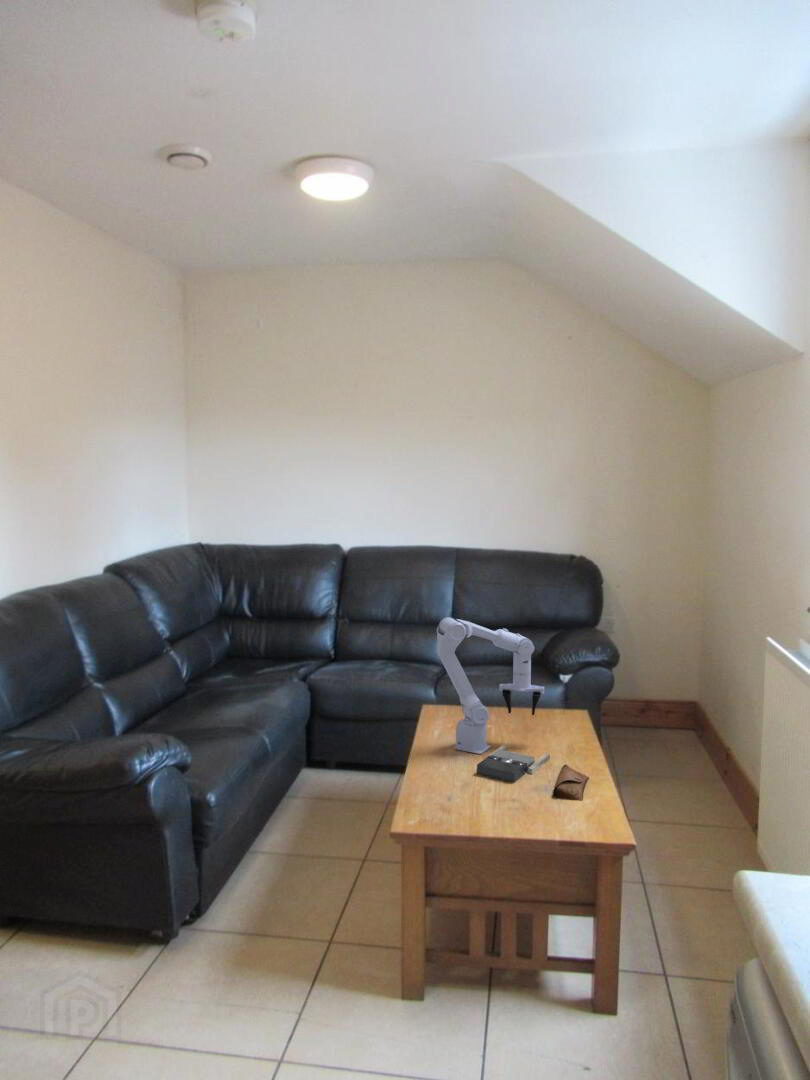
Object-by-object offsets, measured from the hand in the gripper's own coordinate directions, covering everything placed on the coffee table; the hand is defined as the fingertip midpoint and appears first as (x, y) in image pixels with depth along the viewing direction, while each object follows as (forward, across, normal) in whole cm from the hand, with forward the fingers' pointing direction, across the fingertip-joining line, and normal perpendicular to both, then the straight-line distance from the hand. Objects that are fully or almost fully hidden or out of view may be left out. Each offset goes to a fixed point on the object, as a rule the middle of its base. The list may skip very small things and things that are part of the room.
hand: (521, 713), depth 250 cm
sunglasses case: (+11, +18, -31) cm, 37 cm away
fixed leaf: (+10, -3, -26) cm, 28 cm away
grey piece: (+10, -1, -21) cm, 23 cm away
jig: (+10, 0, -15) cm, 19 cm away
